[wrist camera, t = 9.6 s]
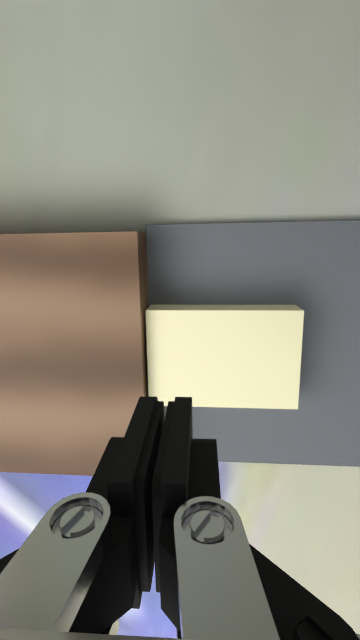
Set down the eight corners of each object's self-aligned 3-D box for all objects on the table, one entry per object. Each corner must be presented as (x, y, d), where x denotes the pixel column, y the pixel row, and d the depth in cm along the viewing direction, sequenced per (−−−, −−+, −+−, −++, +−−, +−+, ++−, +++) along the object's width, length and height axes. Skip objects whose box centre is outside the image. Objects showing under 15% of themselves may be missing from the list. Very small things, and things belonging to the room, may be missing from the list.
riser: (-64, 237, 22) (-105, 236, 19) (146, 233, 21) (137, 231, 18) (-31, 443, 26) (-62, 469, 23) (154, 450, 24) (147, 478, 21)
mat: (146, 225, 21) (145, 224, 21) (383, 219, 20) (386, 219, 20) (154, 456, 24) (154, 458, 24) (358, 463, 23) (360, 466, 23)
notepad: (151, 304, 22) (145, 310, 20) (295, 304, 21) (304, 310, 19) (153, 392, 23) (148, 405, 21) (290, 395, 22) (297, 409, 20)
